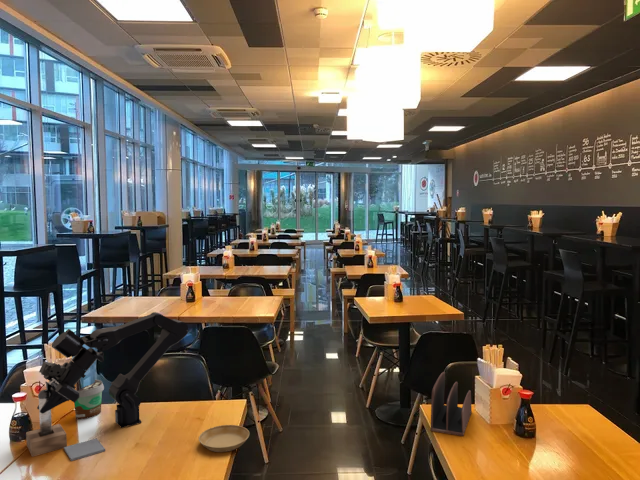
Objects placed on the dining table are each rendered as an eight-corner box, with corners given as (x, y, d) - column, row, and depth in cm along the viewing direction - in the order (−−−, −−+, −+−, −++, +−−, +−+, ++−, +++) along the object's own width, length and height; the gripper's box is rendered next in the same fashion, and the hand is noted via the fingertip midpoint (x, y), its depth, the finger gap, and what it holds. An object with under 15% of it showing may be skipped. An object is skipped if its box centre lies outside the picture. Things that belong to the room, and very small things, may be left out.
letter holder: (430, 431, 153) (430, 386, 152) (442, 408, 171) (442, 368, 170) (463, 437, 149) (463, 391, 148) (471, 412, 167) (472, 371, 166)
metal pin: (51, 430, 148) (49, 387, 147) (53, 433, 145) (51, 390, 145) (38, 433, 146) (37, 389, 145) (40, 436, 143) (38, 392, 143)
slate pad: (96, 440, 149) (96, 438, 149) (105, 450, 142) (105, 448, 142) (63, 449, 144) (63, 447, 144) (71, 461, 137) (71, 458, 137)
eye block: (60, 436, 152) (59, 423, 152) (66, 446, 145) (66, 433, 145) (26, 445, 147) (26, 432, 146) (31, 456, 140) (31, 442, 139)
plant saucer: (238, 458, 138) (238, 449, 138) (190, 453, 141) (189, 444, 141) (256, 435, 152) (256, 426, 152) (211, 431, 155) (211, 423, 155)
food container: (89, 422, 162) (88, 392, 162) (73, 421, 164) (71, 391, 163) (112, 407, 174) (111, 380, 174) (96, 406, 176) (95, 379, 175)
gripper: (49, 345, 154) (10, 388, 147) (65, 357, 140) (22, 406, 133) (78, 364, 160) (41, 407, 153) (95, 378, 145) (56, 426, 139)
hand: (39, 411), depth 144 cm, fingers closed on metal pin, 3 cm apart
